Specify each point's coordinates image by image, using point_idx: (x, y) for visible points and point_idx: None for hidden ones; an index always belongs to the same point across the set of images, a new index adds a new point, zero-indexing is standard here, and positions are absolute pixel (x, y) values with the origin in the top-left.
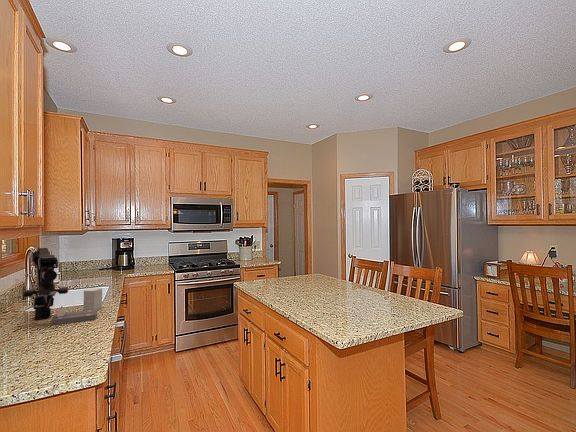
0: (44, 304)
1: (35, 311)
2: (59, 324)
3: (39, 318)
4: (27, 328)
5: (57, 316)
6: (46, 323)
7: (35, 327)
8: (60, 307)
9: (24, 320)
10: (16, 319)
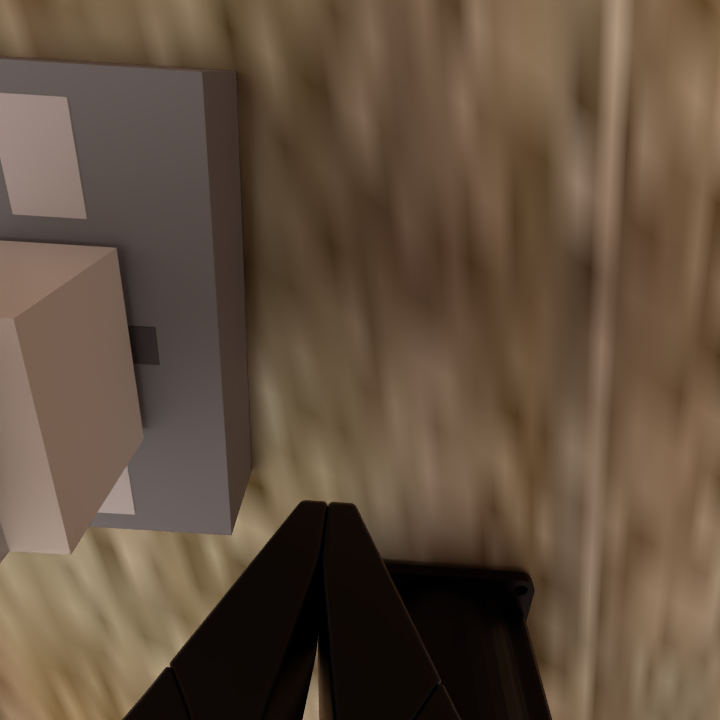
0: (381, 589)
1: (547, 717)
2: (81, 61)
3: (468, 581)
4: (636, 119)
5: (100, 252)
6: (345, 303)
7: (503, 110)
8: (24, 542)
9: (638, 617)
10: (714, 695)
